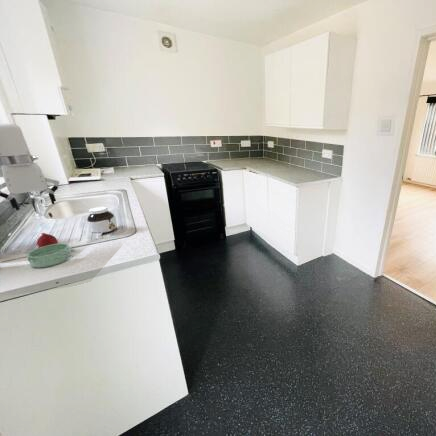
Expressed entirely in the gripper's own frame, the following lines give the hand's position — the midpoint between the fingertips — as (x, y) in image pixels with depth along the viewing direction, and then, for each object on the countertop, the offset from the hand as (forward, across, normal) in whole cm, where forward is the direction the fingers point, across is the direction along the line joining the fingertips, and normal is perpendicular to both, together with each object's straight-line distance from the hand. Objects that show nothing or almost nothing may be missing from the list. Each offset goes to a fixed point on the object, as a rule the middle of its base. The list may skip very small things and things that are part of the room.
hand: (36, 206), depth 93 cm
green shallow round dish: (+19, +1, +11) cm, 22 cm away
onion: (+19, +1, 0) cm, 19 cm away
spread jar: (+19, -19, -10) cm, 28 cm away
